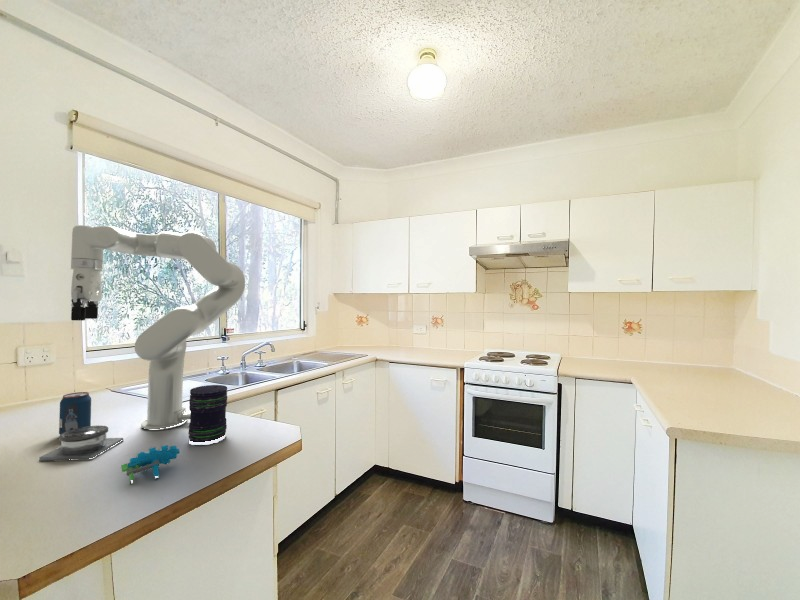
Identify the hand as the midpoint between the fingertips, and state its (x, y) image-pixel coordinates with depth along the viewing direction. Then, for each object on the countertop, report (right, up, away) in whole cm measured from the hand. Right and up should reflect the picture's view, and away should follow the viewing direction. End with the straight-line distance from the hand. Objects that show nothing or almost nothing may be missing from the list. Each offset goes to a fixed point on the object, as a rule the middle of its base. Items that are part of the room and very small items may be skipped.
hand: (84, 319), depth 112 cm
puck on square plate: (+15, -34, -17) cm, 41 cm away
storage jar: (+43, -35, -8) cm, 56 cm away
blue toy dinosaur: (+42, -35, -29) cm, 62 cm away
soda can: (+3, -34, -6) cm, 35 cm away
